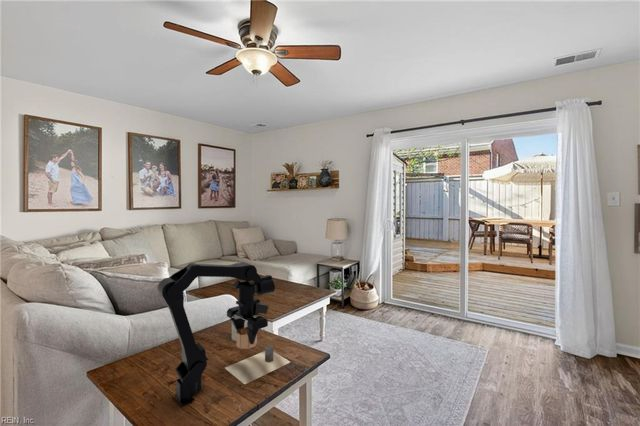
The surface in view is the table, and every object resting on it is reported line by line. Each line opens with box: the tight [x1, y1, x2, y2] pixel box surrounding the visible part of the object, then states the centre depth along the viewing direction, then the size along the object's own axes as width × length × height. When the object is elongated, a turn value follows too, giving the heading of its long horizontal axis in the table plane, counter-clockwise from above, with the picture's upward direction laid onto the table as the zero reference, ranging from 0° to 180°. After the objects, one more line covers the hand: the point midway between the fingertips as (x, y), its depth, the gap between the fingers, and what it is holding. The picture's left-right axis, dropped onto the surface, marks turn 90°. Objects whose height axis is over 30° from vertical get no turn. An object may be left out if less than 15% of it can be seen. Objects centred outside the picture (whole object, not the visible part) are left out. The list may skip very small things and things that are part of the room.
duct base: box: [224, 344, 291, 385], centre depth 112 cm, size 20×14×6 cm
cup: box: [231, 320, 248, 342], centre depth 137 cm, size 8×8×12 cm
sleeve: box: [235, 327, 258, 350], centre depth 108 cm, size 7×7×5 cm
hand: (246, 340), depth 108 cm, fingers closed on sleeve, 7 cm apart
